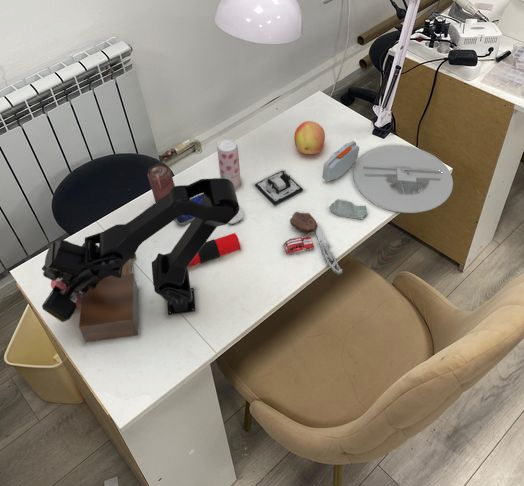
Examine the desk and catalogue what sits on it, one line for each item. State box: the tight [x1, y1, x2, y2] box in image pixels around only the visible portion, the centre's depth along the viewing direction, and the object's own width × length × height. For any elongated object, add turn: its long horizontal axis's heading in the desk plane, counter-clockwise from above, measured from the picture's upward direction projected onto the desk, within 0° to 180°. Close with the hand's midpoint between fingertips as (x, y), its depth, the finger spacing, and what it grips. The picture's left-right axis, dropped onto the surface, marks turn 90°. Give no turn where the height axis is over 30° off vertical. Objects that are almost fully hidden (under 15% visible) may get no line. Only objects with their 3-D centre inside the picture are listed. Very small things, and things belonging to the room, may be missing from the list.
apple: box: [293, 120, 326, 155], centre depth 167 cm, size 10×10×10 cm
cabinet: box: [78, 273, 140, 343], centre depth 128 cm, size 13×12×7 cm
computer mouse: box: [228, 205, 245, 225], centre depth 151 cm, size 6×10×3 cm, turn 39°
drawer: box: [108, 253, 137, 277], centre depth 136 cm, size 13×10×5 cm
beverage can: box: [216, 138, 242, 190], centre depth 155 cm, size 6×6×15 cm
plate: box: [353, 144, 454, 214], centre depth 160 cm, size 28×28×1 cm
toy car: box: [282, 236, 315, 256], centre depth 142 cm, size 4×8×3 cm, turn 105°
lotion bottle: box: [50, 278, 82, 310], centre depth 129 cm, size 5×5×12 cm
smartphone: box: [174, 193, 204, 227], centre depth 154 cm, size 7×1×15 cm
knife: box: [315, 223, 343, 276], centre depth 142 cm, size 2×18×3 cm
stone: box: [289, 211, 318, 235], centre depth 147 cm, size 7×7×3 cm
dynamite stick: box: [188, 232, 242, 268], centre depth 140 cm, size 5×5×20 cm
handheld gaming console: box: [321, 140, 360, 182], centre depth 160 cm, size 14×3×8 cm, turn 136°
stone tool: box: [329, 198, 368, 220], centre depth 151 cm, size 10×2×5 cm
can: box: [147, 163, 176, 203], centre depth 149 cm, size 6×6×14 cm
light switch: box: [254, 170, 304, 206], centre depth 157 cm, size 10×4×10 cm
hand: (61, 289), depth 130 cm, fingers closed on lotion bottle, 5 cm apart
